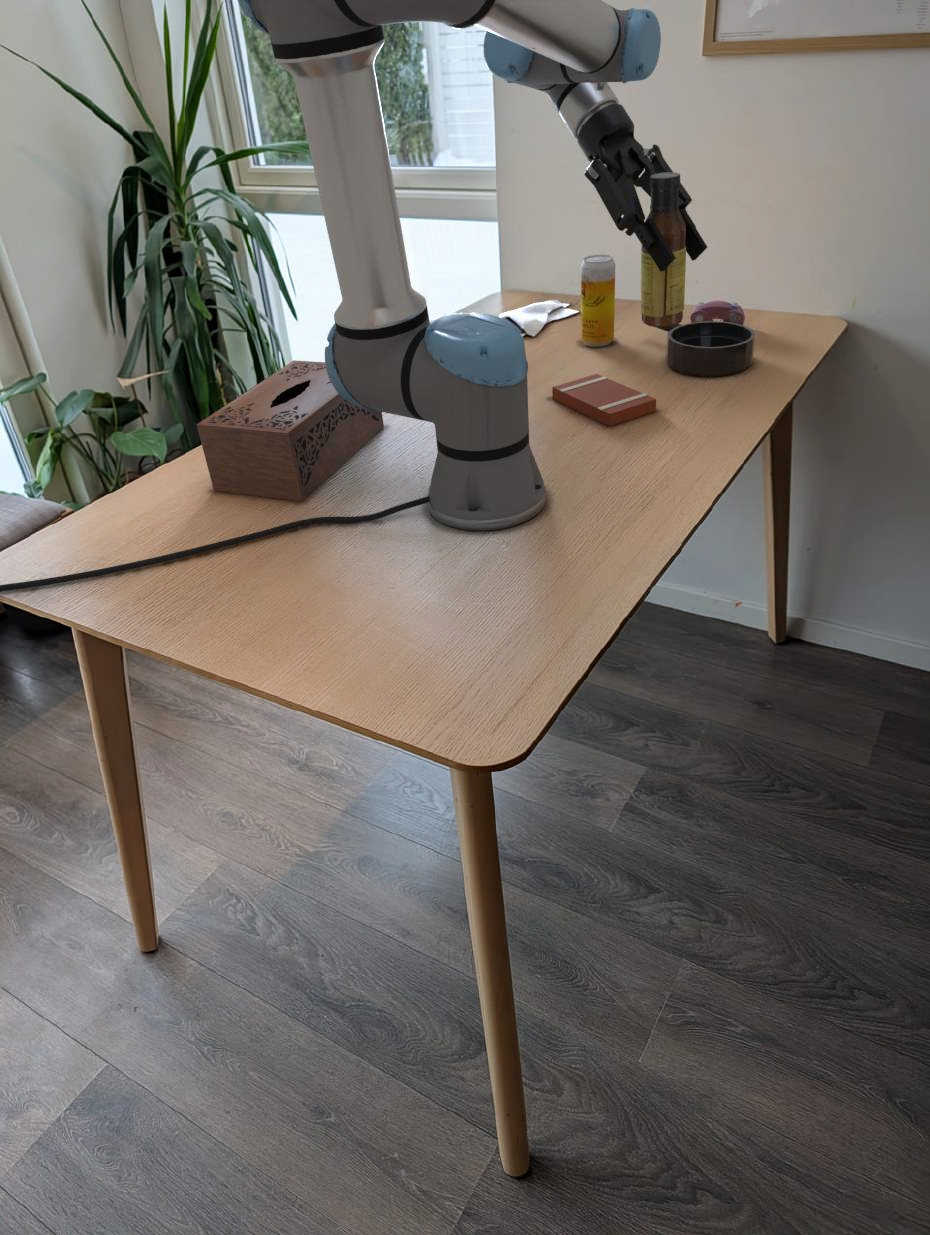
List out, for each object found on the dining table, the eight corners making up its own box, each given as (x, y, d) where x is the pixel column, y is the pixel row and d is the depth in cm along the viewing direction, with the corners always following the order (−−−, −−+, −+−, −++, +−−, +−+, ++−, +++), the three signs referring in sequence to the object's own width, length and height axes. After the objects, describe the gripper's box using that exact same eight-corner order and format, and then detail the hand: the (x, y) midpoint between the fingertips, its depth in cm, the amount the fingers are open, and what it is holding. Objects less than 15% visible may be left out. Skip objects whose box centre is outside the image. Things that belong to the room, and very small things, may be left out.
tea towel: (609, 426, 134) (609, 413, 133) (552, 398, 145) (551, 386, 144) (656, 411, 137) (656, 398, 136) (596, 385, 148) (596, 373, 147)
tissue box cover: (301, 501, 121) (287, 433, 116) (213, 490, 126) (196, 424, 121) (383, 427, 141) (375, 365, 135) (304, 420, 146) (293, 360, 140)
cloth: (537, 300, 192) (536, 289, 191) (591, 307, 185) (591, 296, 183) (462, 335, 176) (461, 323, 175) (518, 344, 169) (518, 332, 167)
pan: (706, 384, 145) (708, 354, 142) (649, 362, 155) (650, 333, 153) (769, 363, 150) (773, 334, 148) (710, 344, 161) (712, 316, 158)
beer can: (575, 341, 168) (574, 258, 159) (602, 335, 170) (603, 252, 161) (592, 349, 163) (592, 264, 155) (620, 343, 165) (622, 258, 156)
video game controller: (688, 339, 168) (688, 311, 162) (690, 322, 170) (691, 293, 164) (742, 340, 165) (745, 311, 159) (744, 322, 167) (747, 293, 161)
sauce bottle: (681, 315, 133) (691, 168, 122) (685, 328, 128) (696, 176, 117) (636, 317, 134) (642, 171, 123) (639, 329, 129) (645, 179, 118)
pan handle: (685, 334, 157) (686, 324, 156) (677, 336, 156) (678, 326, 155) (649, 322, 164) (649, 312, 163) (641, 324, 163) (641, 314, 162)
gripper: (563, 110, 117) (654, 257, 116) (658, 91, 126) (744, 227, 125) (536, 153, 123) (622, 292, 122) (629, 132, 133) (710, 261, 132)
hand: (684, 259), depth 124 cm, fingers closed on sauce bottle, 6 cm apart
